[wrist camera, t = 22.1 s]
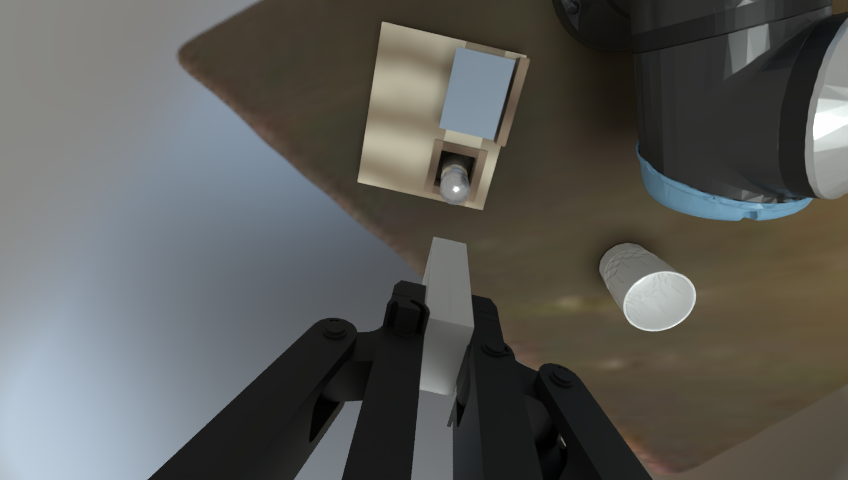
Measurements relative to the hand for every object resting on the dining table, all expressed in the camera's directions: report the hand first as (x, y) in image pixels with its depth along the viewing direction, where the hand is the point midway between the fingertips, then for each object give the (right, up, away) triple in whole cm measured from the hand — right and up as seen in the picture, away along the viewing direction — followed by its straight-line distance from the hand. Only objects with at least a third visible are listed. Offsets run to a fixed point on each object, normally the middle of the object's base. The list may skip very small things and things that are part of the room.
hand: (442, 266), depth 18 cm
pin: (+3, +11, +33) cm, 34 cm away
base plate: (+1, +16, +31) cm, 35 cm away
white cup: (+27, -2, +37) cm, 45 cm away
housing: (+5, +18, +26) cm, 32 cm away
